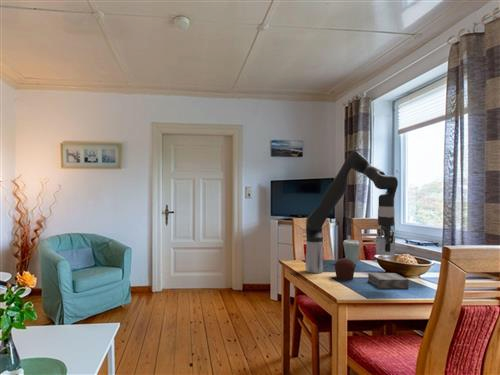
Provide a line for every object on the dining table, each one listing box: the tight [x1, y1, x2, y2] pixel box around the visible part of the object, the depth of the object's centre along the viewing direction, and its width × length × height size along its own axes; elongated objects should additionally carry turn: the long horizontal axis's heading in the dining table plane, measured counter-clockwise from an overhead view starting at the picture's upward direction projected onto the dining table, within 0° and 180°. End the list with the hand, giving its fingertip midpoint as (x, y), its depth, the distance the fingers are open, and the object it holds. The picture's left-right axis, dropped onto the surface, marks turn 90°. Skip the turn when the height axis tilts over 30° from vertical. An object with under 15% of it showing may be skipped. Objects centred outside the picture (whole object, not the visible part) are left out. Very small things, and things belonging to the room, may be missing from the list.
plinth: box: [367, 272, 409, 289], centre depth 171 cm, size 14×14×4 cm
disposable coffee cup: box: [342, 239, 360, 265], centre depth 223 cm, size 11×11×15 cm
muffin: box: [333, 257, 357, 281], centre depth 184 cm, size 12×11×10 cm
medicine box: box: [375, 235, 396, 256], centre depth 168 cm, size 8×4×9 cm, turn 90°
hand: (385, 250), depth 168 cm, fingers closed on medicine box, 4 cm apart
